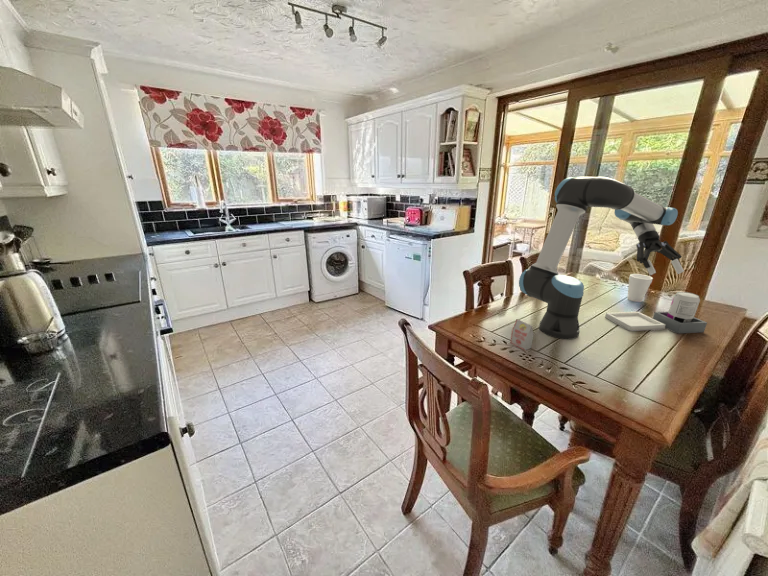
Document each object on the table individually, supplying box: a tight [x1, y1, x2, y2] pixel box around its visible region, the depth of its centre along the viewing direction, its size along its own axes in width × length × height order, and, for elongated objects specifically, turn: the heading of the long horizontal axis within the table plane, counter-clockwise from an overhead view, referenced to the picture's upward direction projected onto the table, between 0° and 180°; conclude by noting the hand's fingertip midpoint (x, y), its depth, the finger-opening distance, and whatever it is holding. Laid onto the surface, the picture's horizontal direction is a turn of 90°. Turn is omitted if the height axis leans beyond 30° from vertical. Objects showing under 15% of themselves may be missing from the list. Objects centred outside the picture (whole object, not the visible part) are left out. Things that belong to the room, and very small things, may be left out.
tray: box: [604, 311, 665, 332], centre depth 140 cm, size 16×14×2 cm
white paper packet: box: [509, 318, 534, 351], centre depth 121 cm, size 4×7×10 cm, turn 30°
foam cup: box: [626, 273, 654, 303], centre depth 165 cm, size 10×9×13 cm
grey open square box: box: [652, 310, 708, 334], centre depth 136 cm, size 12×12×4 cm
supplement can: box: [667, 291, 701, 323], centre depth 134 cm, size 8×8×15 cm
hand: (666, 273), depth 141 cm, fingers open, 13 cm apart
